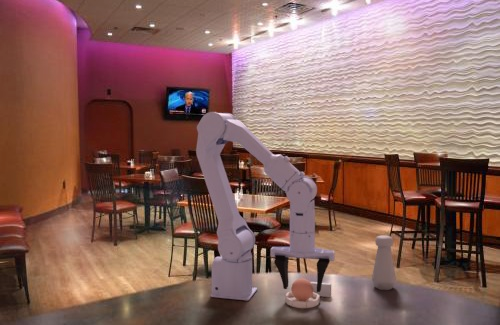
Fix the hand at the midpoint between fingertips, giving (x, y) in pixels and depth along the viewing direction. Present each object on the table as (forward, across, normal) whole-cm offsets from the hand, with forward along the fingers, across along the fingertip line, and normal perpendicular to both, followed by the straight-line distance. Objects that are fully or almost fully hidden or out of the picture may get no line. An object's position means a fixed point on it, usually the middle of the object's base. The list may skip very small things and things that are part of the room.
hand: (302, 289), depth 106 cm
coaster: (+3, 0, 0) cm, 3 cm away
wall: (+3, +2, +5) cm, 6 cm away
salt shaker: (+3, +18, +15) cm, 24 cm away
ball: (+3, 0, 0) cm, 3 cm away
